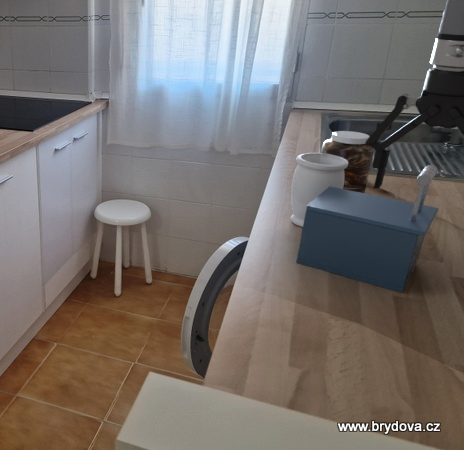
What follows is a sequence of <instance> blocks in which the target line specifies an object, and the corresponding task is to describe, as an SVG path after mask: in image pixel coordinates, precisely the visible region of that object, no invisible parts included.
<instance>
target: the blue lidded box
mask: <svg viewBox="0 0 464 450" xmlns="http://www.w3.org/2000/svg"><path fill="white" fill-rule="evenodd" d="M300 235H301V236H300V240H299V245H298V251H297V257H296V262H295V263H296V264H299V265H303V266H306V267H310V268H314V269H317V270H320V271H325V272H328V273H331V274H334V275H337V276H341V277H345V278H347V279H352V280H356V281H359V282H363V283H366V284H370V285H372V286H376V287H380V288H383V289H386V290H390V291H394V292H397V293H401V294H402V293H403V292H404V290H405V287H406V286H407V284H408V282H409V280H410V277H411V275H412V274H413V272H414V270H415V267H416V266H417V264H418V260H419V256H420V254H421V249H422V246H423V242H424V239H425V236H421V235H416V234H412V233H407V232H403V231H399V230H394V229H390V228H385V227H381V226H377V225H372V224H368V223H363V222H359V221H355V220H350V219H346V218H341V217H337V216H333V215H328V214H324V213H319V212H315V211H311V210H306V214H305V219H304V224H303V227H302V230H301V234H300Z"/></svg>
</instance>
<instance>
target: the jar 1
mask: <svg viewBox="0 0 464 450" xmlns="http://www.w3.org/2000/svg"><path fill="white" fill-rule="evenodd" d="M295 162H296V163H297V165H296V167H295V169H294V172H293V176H292V180H291V187H290V191H291V192H290V193H291V195H290V196H291V197H290V202H291V203H290V205H291V209H292V212H293V214H292V215H291V216H290V221H291V223H293V224H294V225H296V226H298V227H301V228H303V224H304V219H305V214H306V210H307V209H306V208H307V205H308V204H310V203H311V202H312V201H313V200H314V199H315V198H317V197H318V196H319V195H320V194H321V193H322V192H323V191H325V190H326V189H327V188H328V187H329V186H330V187H335V188H340V189H343V187H344V169H345V168H347V166H348V161H347V160H346V159H344V158H342V157H339V156H335V155H330V154H323V153H321V152H306V153H305V152H304V153H301V154H300V153H299V154H297V155H296V158H295Z"/></svg>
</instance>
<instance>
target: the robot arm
mask: <svg viewBox="0 0 464 450" xmlns="http://www.w3.org/2000/svg"><path fill="white" fill-rule="evenodd" d="M441 17H442V18H441V19H440V20H441V21H440V25H439V28H438V32H437V36H436V38H435V42H434V44H433V49H432V53H431V57H430V61H429V63H430V65H431V66H432V67H430V68H429V69H427V71H426V75H425V80H424V83H423V87H422V91H421V94H420V96H419V97H417V96H416V97H415V96H411V95H409V94H408V93H402V94H400V95H399V96H398V98H397V100H396V103H395V105H394V108H393V109H392V110H391V112H390V113H389V114H388V115H387V116H386V117H385V118H384V119H383V121H382V122H381V123H380V124H379V126H378V127H377V128H376V129H375V130H374V131H373V132H372V133H371V135H369V138H368V140H367V141H366V145H367V146H370V147H372V148H374V151H375V152H374V155H373V159H372V163H371V166H372V169H377V173H376V177H375V181H374V185H373V189H380V188H381V186H382V185H383V181H384V178H385V174H386V171H387V165H388V161H389V158H390V154H391V150H390V149H387V148H388V147H390V146H391V145H393V144H394V143H396V142H397V141H398V140H400V139H402V138H403V137H404V136H406V135H407V134H409V133H410V132H411V131H413V130H414V129H416V128H417V127H418V126H421V125H422V124H423V123H424V124H425V125H427V126H428V127H432V128H437V127H441V128H443V129H447V130H452V129H455V128H458V130H459V131H460V133H461V134H462V135H463V136H464V0H445V4H444V8H443V13H442V16H441ZM414 105H415V107H416V109H417V112H418V113H419V114H418V115H417V116H416V117H414V118H413V119H412V120H410V121H409V122H407V123H406V124H405V125H403V126H401V127H400V128H399V129H398V130H396V131H395V132H393V133H392V134H391V135H389V136H388V137H386V138H385V139H384V140H382V141H381V140H379V139H380V138H381V137H382V136H383V134H384V133H385V132H386V131H387V130H388V128H390V126H392V124H393V123H394V122H395V121H396V119H397V118H398V117H399V116H400V115H401V114H402V113H403V111H404V110H408V109H410V108H411V106H414Z"/></svg>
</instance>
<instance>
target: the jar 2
mask: <svg viewBox="0 0 464 450" xmlns="http://www.w3.org/2000/svg"><path fill="white" fill-rule="evenodd" d="M369 137H370V135H369V134H367V133H364V132H358V131H352V130H337V131H333V132H332V133H331V137H330V138H327V139H325V140H324V141H323V144H322V146H321V151H320V153H323V154H330V155H335V156H339V157H342V158H344V159H346V160H347V161H348V166H347V168H345V169H344V187H343V189H345V190H350V191H355V192H360V193H365V192H366V189H367V184H368V180H369V176H370V172H371V166H372V164H373V159H374V154H375V152H374V151H375V149H374V148H372V147H370V146H367V145H366V141H367V140H368V138H369ZM365 194H366V193H365Z"/></svg>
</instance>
